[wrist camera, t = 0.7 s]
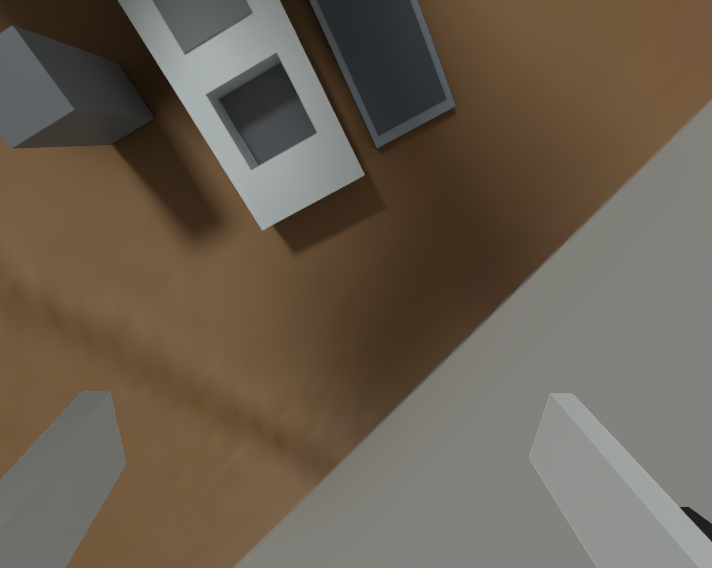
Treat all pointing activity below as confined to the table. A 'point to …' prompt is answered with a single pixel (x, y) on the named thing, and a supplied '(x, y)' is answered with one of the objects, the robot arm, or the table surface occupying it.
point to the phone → (386, 63)
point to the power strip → (250, 98)
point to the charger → (63, 94)
